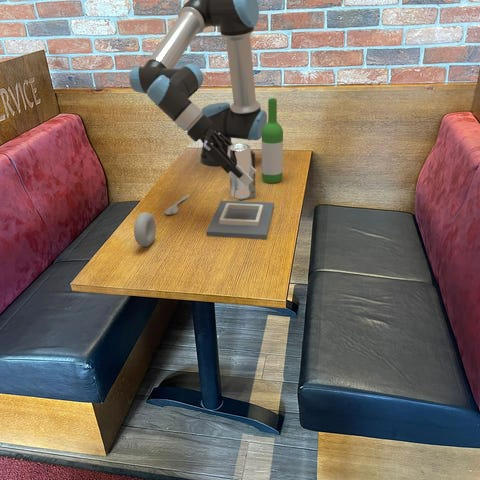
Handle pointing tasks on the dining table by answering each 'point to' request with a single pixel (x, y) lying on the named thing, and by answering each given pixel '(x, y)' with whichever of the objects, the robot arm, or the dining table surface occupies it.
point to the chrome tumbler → (243, 159)
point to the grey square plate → (241, 220)
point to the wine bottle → (272, 146)
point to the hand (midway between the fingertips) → (251, 178)
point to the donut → (144, 229)
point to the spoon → (175, 206)
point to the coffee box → (252, 184)
